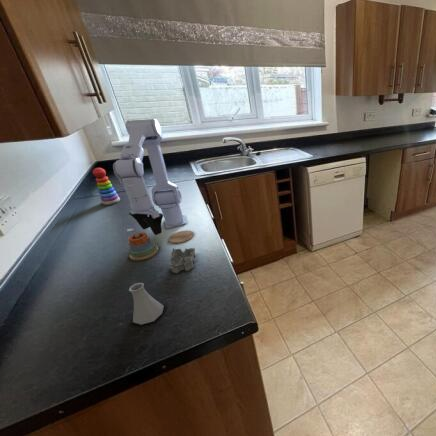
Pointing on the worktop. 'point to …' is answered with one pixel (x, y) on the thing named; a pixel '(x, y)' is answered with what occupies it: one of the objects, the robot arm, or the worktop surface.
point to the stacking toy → (105, 187)
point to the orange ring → (138, 241)
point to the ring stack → (142, 250)
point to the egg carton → (182, 259)
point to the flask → (144, 305)
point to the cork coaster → (181, 236)
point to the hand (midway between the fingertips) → (152, 230)
